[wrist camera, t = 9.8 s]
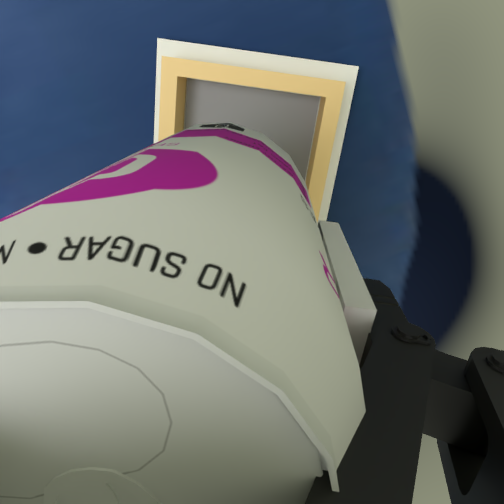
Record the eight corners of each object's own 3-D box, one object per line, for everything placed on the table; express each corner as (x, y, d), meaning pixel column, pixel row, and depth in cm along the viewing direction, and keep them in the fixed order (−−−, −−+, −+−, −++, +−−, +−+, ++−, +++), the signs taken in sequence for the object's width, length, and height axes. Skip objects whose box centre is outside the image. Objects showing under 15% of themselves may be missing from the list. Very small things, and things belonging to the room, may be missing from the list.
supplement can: (107, 163, 19) (-348, 376, 5) (272, 91, 17) (257, 120, 4) (182, 305, 22) (18, 696, 8) (331, 255, 20) (454, 632, 6)
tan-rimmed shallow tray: (306, 297, 42) (312, 336, 36) (154, 276, 42) (132, 310, 36) (354, 67, 34) (372, 63, 27) (163, 40, 34) (137, 30, 27)
